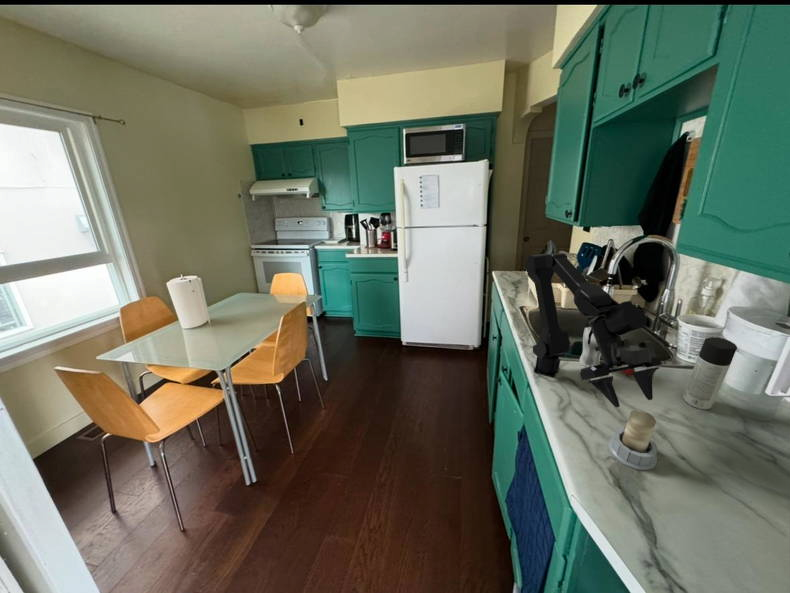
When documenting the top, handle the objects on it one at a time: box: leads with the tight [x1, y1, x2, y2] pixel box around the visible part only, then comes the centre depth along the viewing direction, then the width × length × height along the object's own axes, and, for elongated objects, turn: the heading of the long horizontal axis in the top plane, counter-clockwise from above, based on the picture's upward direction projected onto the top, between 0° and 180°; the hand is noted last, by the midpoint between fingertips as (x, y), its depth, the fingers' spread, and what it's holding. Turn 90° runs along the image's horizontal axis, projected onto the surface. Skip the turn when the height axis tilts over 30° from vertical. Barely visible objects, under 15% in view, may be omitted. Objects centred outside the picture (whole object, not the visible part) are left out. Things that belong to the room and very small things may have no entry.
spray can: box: [682, 336, 738, 410], centre depth 98 cm, size 7×7×20 cm
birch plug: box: [621, 409, 657, 453], centre depth 85 cm, size 5×5×10 cm
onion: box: [621, 364, 635, 377], centre depth 112 cm, size 6×6×8 cm
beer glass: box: [579, 327, 601, 368], centre depth 117 cm, size 7×7×15 cm
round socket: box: [607, 427, 658, 471], centre depth 86 cm, size 10×10×4 cm
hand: (634, 403), depth 84 cm, fingers open, 9 cm apart
